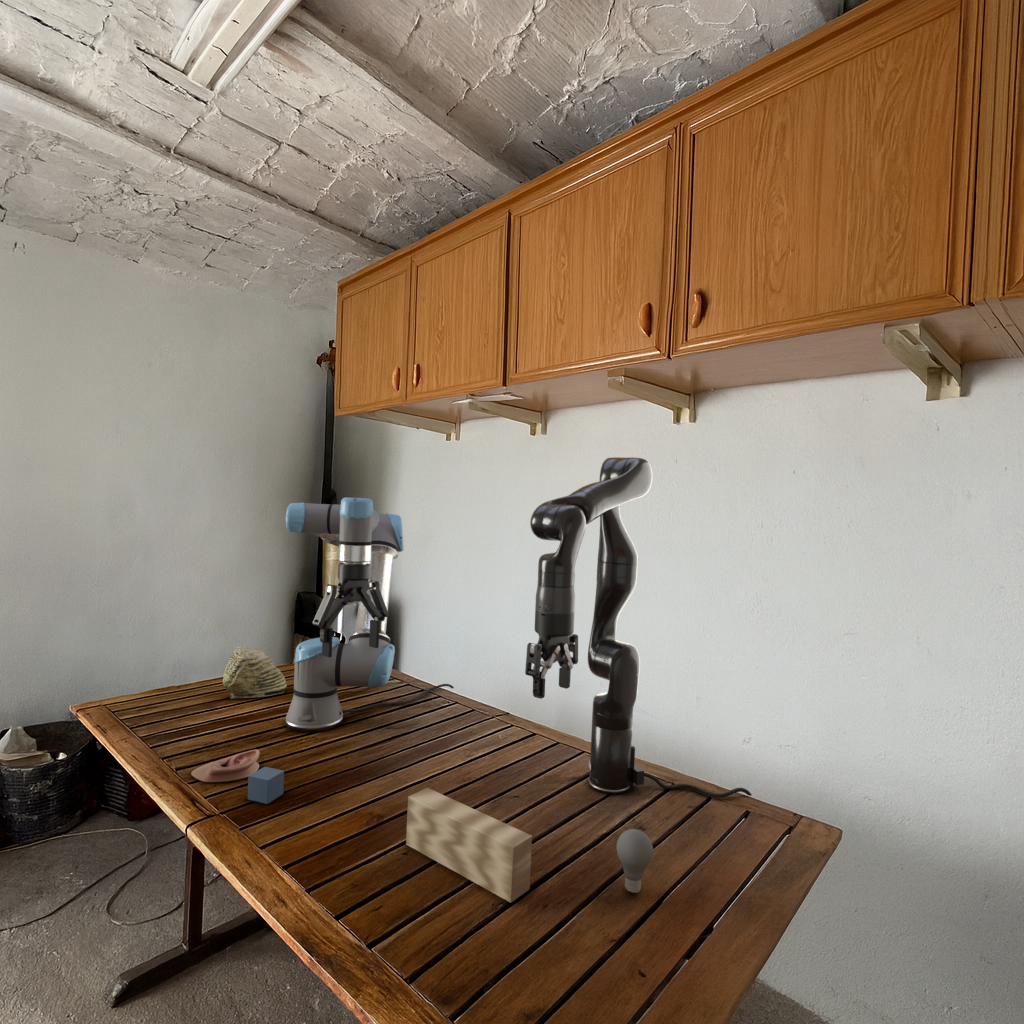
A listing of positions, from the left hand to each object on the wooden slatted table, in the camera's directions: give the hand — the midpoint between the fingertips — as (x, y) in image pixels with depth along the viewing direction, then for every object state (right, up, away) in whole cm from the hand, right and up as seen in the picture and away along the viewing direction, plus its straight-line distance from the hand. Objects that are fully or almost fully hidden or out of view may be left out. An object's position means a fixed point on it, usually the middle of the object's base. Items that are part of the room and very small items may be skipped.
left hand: (351, 651), depth 151 cm
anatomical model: (-26, -26, -8) cm, 38 cm away
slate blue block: (-13, -27, -18) cm, 35 cm away
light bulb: (+58, -30, -45) cm, 80 cm away
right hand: (+46, -1, -29) cm, 54 cm away
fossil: (-42, -24, +47) cm, 68 cm away
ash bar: (+30, -29, -40) cm, 57 cm away
